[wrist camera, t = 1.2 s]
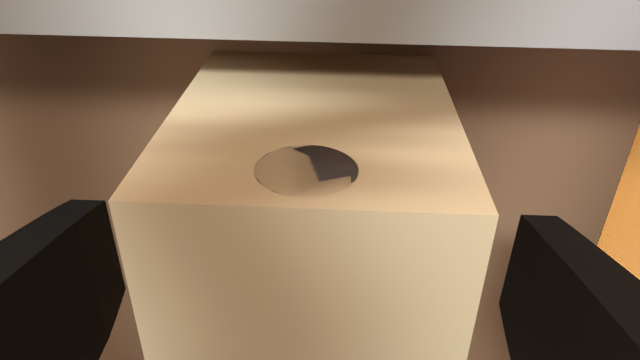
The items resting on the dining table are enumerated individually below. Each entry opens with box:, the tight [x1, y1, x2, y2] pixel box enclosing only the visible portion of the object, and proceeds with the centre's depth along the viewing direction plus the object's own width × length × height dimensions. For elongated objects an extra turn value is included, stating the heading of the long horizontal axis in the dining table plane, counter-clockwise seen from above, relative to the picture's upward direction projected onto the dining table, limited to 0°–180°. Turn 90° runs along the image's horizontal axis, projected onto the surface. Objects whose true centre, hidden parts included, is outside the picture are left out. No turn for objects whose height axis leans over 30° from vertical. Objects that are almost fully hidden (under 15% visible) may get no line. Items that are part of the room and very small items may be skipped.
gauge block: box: [108, 50, 499, 360], centre depth 10 cm, size 4×8×5 cm, turn 179°
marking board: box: [0, 0, 640, 360], centre depth 12 cm, size 22×12×3 cm, turn 89°
